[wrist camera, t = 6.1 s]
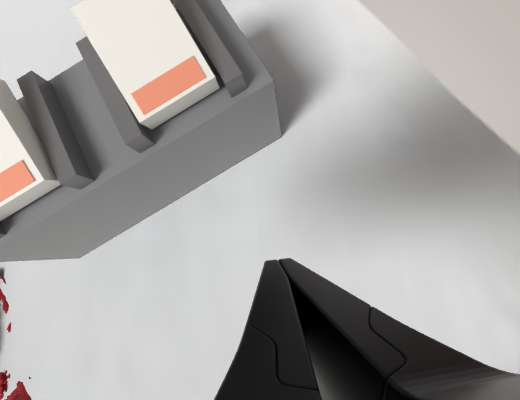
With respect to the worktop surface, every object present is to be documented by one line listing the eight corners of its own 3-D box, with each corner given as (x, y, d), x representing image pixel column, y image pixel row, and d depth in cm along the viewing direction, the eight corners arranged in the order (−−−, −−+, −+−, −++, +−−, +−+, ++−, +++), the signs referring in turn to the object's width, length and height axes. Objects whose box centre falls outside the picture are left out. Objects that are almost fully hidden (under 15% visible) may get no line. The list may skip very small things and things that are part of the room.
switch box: (281, 137, 23) (271, 63, 14) (79, 258, 24) (-59, 264, 14) (235, 65, 25) (200, -41, 16) (47, 180, 25) (-94, 141, 16)
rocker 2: (219, 88, 15) (214, 76, 14) (152, 129, 15) (139, 122, 14) (158, -16, 15) (145, -41, 13) (90, 27, 15) (69, 7, 14)
